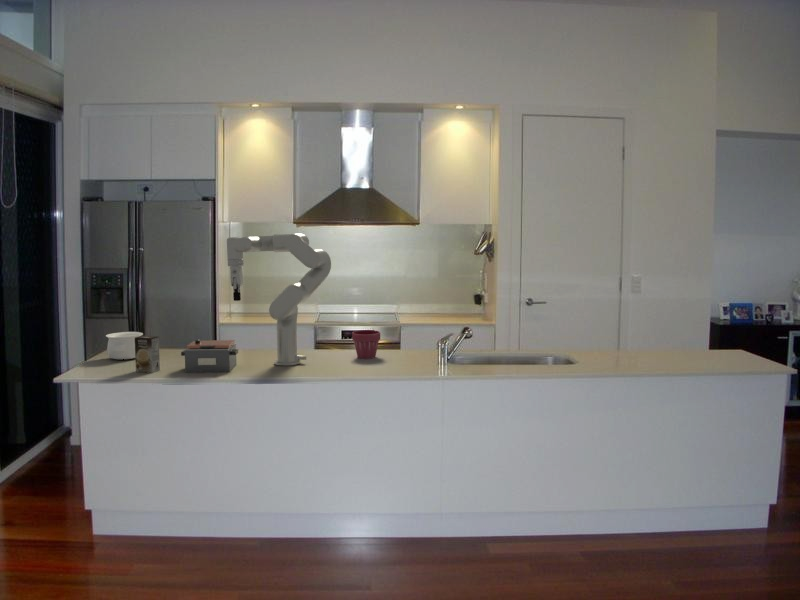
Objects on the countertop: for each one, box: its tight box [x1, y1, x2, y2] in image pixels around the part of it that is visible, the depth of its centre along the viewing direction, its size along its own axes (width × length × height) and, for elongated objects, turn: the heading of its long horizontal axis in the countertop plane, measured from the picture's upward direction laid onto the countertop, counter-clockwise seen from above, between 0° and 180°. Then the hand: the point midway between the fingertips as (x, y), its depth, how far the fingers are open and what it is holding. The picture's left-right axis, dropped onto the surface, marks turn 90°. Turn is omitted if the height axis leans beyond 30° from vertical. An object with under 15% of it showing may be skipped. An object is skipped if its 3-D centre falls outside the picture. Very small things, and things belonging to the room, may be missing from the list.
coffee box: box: [134, 334, 161, 374], centre depth 320 cm, size 9×6×16 cm
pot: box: [105, 331, 144, 361], centre depth 352 cm, size 22×17×12 cm
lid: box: [186, 339, 236, 349], centre depth 325 cm, size 19×16×3 cm
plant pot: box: [351, 329, 381, 360], centre depth 352 cm, size 14×14×13 cm
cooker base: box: [180, 343, 239, 373], centre depth 325 cm, size 25×17×10 cm
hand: (237, 300), depth 340 cm, fingers closed
